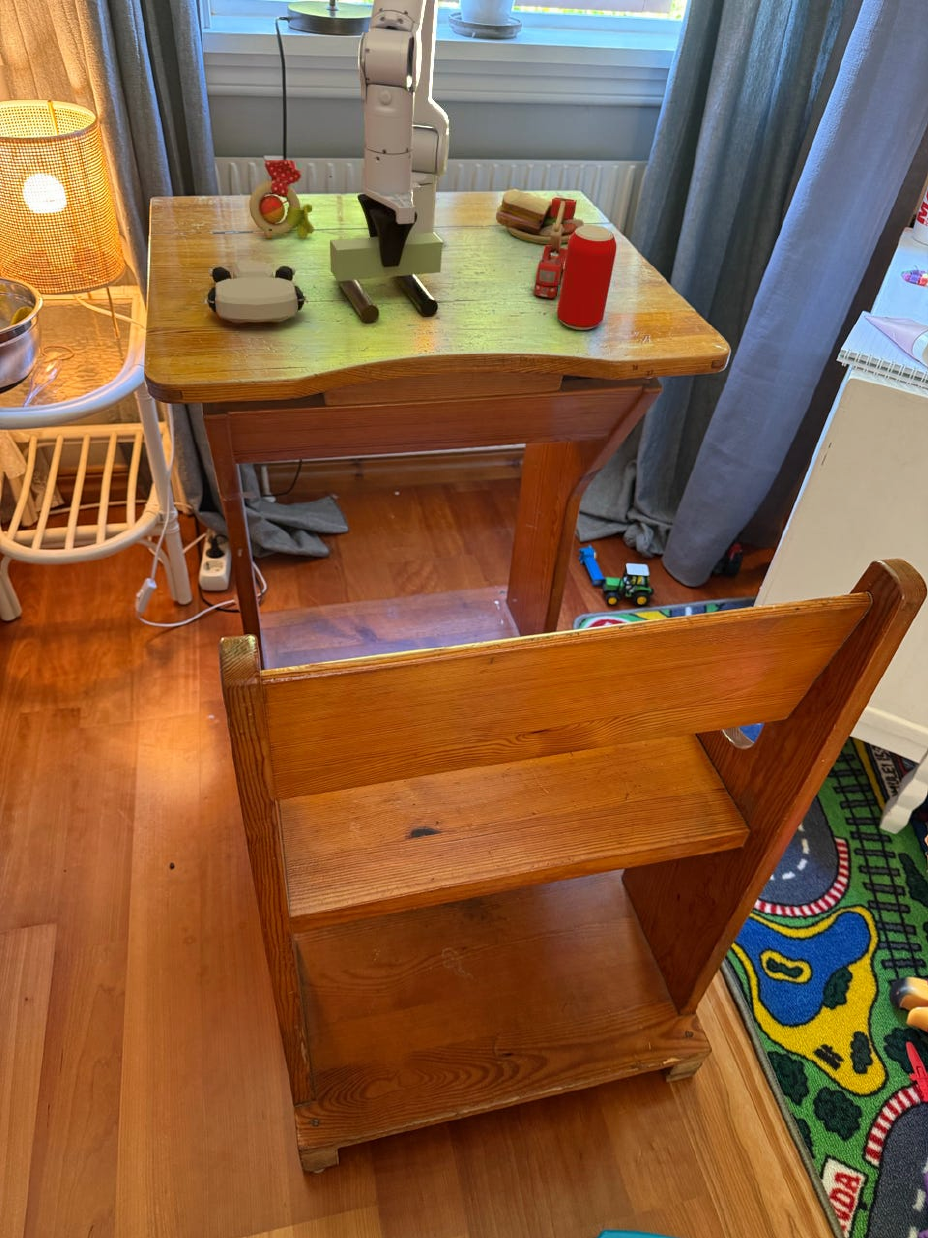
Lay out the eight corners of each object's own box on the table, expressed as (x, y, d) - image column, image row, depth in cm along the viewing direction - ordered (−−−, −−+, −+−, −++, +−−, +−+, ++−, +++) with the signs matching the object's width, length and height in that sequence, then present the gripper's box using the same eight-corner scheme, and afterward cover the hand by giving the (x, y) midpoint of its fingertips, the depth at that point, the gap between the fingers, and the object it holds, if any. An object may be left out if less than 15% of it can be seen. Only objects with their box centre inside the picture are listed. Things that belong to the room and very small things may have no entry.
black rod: (391, 278, 127) (391, 261, 125) (407, 277, 128) (408, 260, 126) (420, 317, 119) (421, 299, 117) (437, 315, 120) (438, 298, 118)
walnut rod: (335, 283, 124) (334, 266, 123) (352, 282, 125) (352, 264, 124) (361, 323, 117) (361, 305, 115) (379, 322, 117) (379, 304, 116)
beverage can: (547, 323, 121) (560, 231, 113) (570, 307, 125) (585, 217, 116) (587, 338, 119) (604, 245, 110) (609, 322, 122) (627, 231, 114)
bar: (337, 281, 116) (336, 249, 114) (330, 270, 118) (329, 239, 116) (440, 272, 121) (442, 241, 118) (432, 262, 123) (433, 232, 120)
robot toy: (206, 290, 122) (208, 335, 111) (202, 255, 119) (203, 298, 108) (300, 288, 124) (310, 333, 113) (298, 254, 121) (308, 296, 110)
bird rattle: (276, 260, 133) (330, 230, 134) (239, 189, 125) (297, 157, 125) (265, 243, 137) (317, 214, 138) (228, 174, 129) (284, 143, 129)
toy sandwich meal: (568, 253, 138) (573, 221, 135) (485, 234, 141) (487, 202, 138) (590, 226, 147) (595, 195, 144) (511, 208, 150) (514, 178, 146)
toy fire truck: (531, 298, 126) (541, 226, 119) (545, 259, 136) (554, 191, 129) (555, 302, 126) (566, 230, 119) (567, 263, 135) (578, 195, 129)
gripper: (441, 165, 106) (434, 280, 115) (400, 126, 115) (397, 235, 124) (382, 168, 103) (380, 285, 113) (346, 128, 113) (347, 239, 122)
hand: (386, 259), depth 118 cm, fingers closed on bar, 3 cm apart
